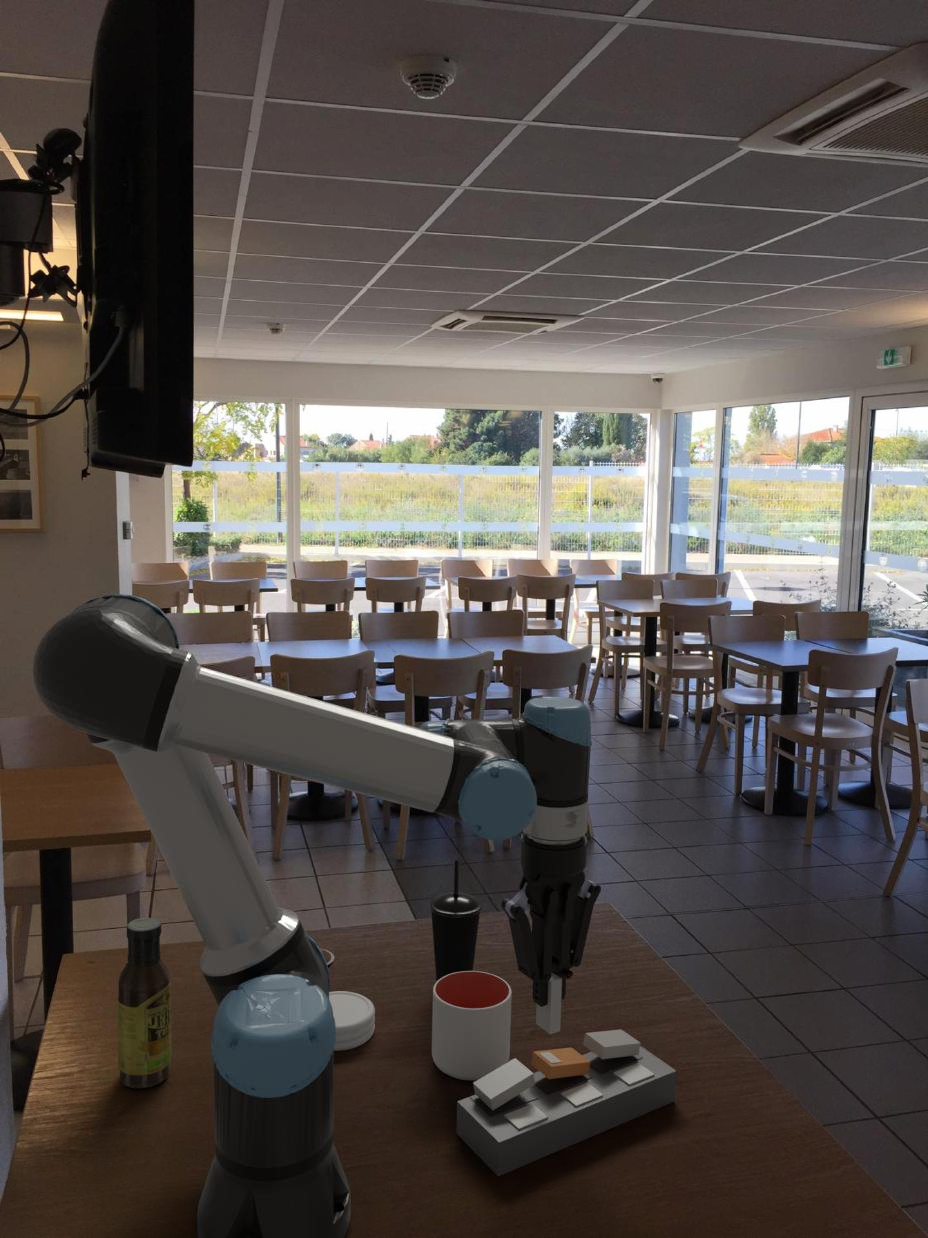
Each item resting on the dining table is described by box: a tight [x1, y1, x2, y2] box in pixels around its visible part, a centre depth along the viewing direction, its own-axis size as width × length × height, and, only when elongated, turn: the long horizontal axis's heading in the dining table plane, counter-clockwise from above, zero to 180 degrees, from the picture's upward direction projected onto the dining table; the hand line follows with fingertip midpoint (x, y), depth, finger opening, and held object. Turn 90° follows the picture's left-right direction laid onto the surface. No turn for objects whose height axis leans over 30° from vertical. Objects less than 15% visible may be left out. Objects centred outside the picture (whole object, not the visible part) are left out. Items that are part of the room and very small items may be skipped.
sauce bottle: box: [117, 917, 172, 1089], centre depth 125 cm, size 6×6×20 cm
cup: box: [431, 970, 513, 1081], centre depth 131 cm, size 10×10×10 cm
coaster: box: [329, 990, 376, 1052], centre depth 138 cm, size 10×10×4 cm
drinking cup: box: [428, 859, 483, 983], centre depth 147 cm, size 8×8×20 cm
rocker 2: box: [530, 1047, 590, 1079], centre depth 121 cm, size 6×4×2 cm, turn 123°
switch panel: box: [456, 1045, 677, 1177], centre depth 120 cm, size 26×8×4 cm, turn 123°
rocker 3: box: [582, 1029, 642, 1059], centre depth 126 cm, size 6×4×2 cm, turn 123°
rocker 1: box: [472, 1058, 535, 1110], centre depth 117 cm, size 6×4×2 cm, turn 122°
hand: (548, 1027), depth 120 cm, fingers closed
